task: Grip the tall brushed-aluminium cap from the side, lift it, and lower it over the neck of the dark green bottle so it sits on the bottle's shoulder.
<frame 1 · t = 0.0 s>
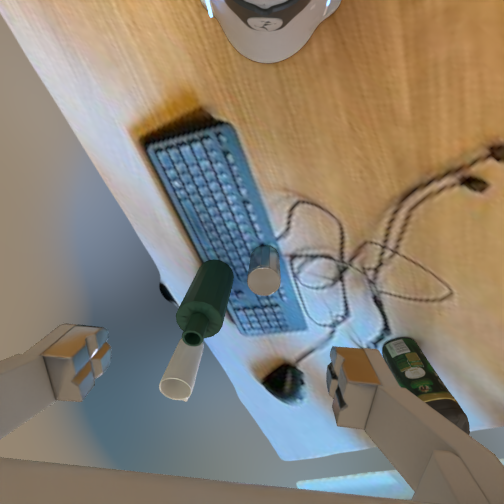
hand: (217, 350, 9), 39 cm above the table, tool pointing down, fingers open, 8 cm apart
bottle: (215, 275, 54), on the table
coffee jar: (399, 350, 59), on the table
cap: (264, 257, 51), on the table
mug: (193, 348, 64), on the table
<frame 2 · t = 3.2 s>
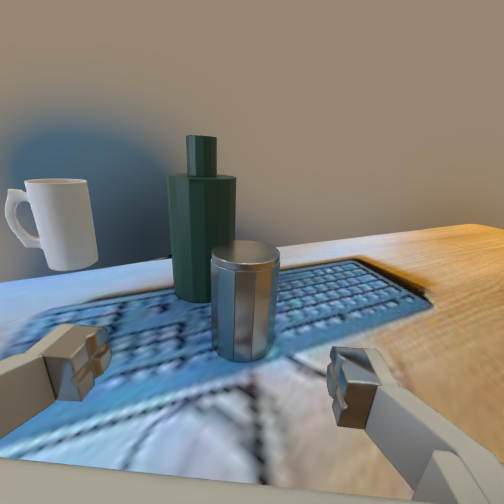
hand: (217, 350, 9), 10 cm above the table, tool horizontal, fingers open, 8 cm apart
bottle: (204, 287, 33), on the table
cap: (242, 339, 24), on the table
mug: (62, 265, 38), on the table
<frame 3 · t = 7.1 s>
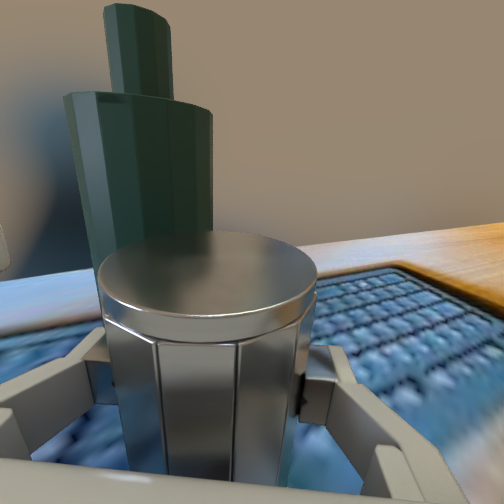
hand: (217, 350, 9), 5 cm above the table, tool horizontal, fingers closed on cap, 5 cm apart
bottle: (162, 317, 19), on the table
cap: (213, 467, 10), on the table, touching gripper
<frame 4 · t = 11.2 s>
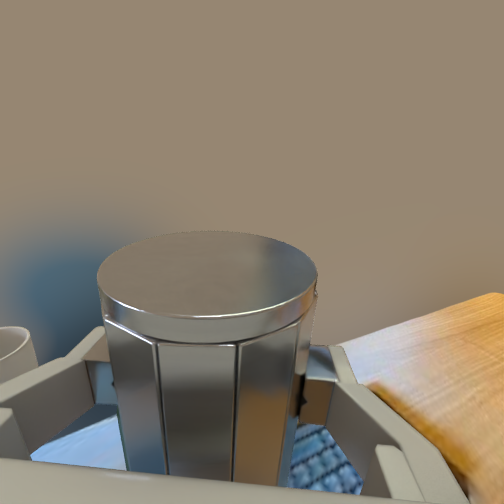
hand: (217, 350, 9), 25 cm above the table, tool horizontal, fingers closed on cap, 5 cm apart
cap: (213, 468, 10), point 20 cm above the table, touching gripper
mug: (1, 433, 30), on the table
when the fingers open (19 cm above the table, at t = 15.5 s): cap stays where it is, resting on bottle.
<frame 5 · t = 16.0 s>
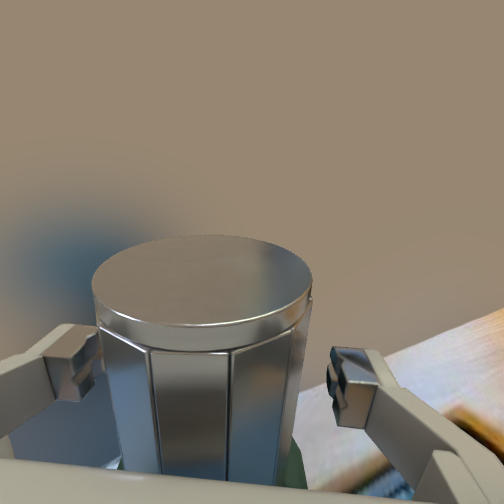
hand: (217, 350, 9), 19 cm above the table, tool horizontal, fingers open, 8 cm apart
cap: (211, 471, 10), point 14 cm above the table, touching bottle
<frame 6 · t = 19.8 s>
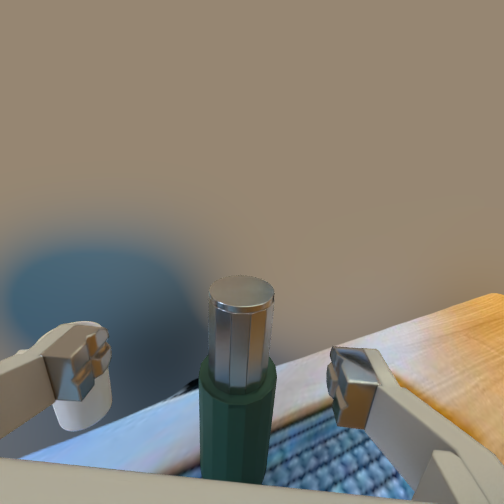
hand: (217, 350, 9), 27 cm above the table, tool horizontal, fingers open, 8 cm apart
bottle: (233, 462, 30), on the table
cap: (238, 370, 25), point 14 cm above the table, touching bottle
mug: (73, 413, 34), on the table
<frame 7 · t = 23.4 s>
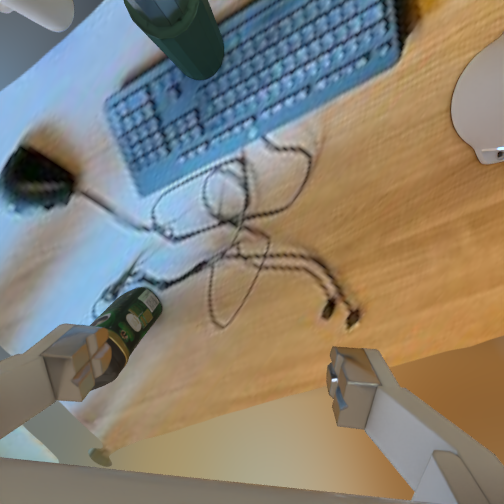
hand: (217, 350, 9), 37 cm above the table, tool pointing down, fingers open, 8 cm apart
bottle: (198, 50, 37), on the table
coffee jar: (141, 304, 53), on the table
mug: (45, 11, 37), on the table
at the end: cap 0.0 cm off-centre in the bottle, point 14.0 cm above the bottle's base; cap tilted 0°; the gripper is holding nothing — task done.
